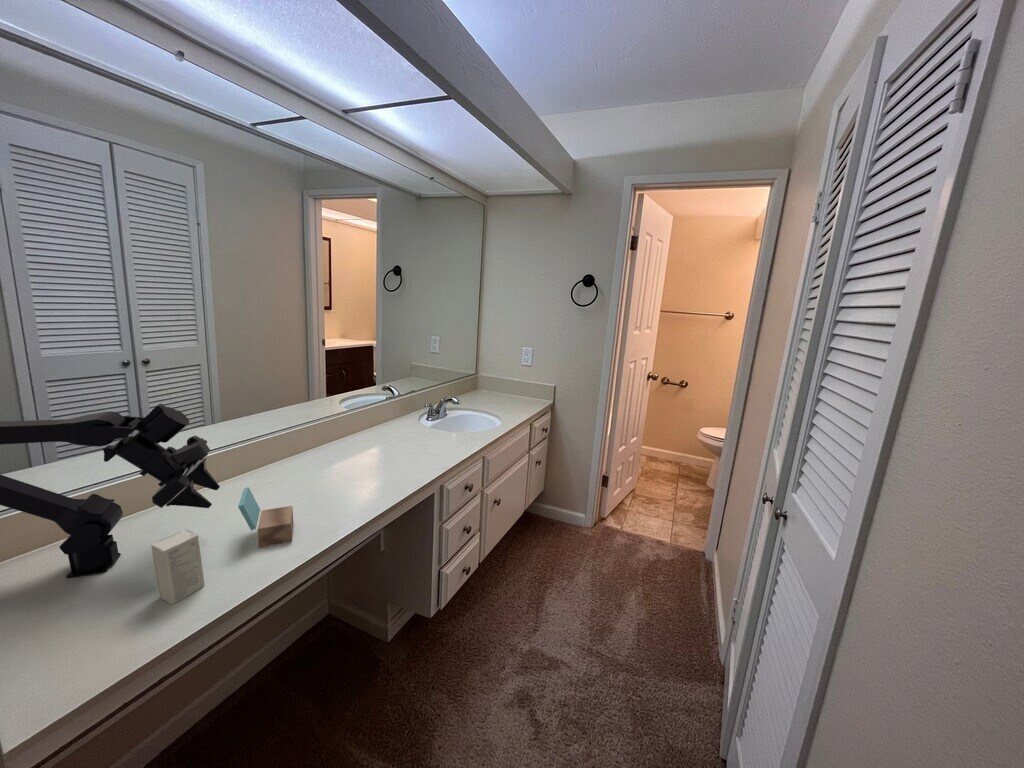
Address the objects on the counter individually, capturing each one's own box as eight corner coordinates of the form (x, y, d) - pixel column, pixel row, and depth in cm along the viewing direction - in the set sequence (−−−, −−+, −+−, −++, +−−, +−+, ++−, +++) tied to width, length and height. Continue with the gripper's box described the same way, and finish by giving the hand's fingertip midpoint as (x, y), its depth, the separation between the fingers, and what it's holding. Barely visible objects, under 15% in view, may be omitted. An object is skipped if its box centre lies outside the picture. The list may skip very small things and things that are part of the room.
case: (259, 547, 98) (257, 528, 97) (262, 527, 106) (261, 510, 104) (291, 541, 101) (290, 523, 100) (293, 522, 109) (292, 505, 108)
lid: (255, 528, 96) (251, 530, 96) (260, 509, 104) (256, 511, 104) (242, 504, 94) (238, 506, 94) (248, 486, 102) (244, 488, 102)
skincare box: (192, 579, 86) (186, 527, 84) (205, 586, 84) (199, 534, 82) (157, 598, 81) (149, 544, 78) (170, 606, 79) (163, 550, 76)
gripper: (167, 445, 81) (235, 489, 88) (192, 418, 98) (248, 457, 105) (119, 486, 79) (193, 528, 86) (152, 451, 96) (212, 489, 103)
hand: (214, 497), depth 95 cm, fingers open, 9 cm apart
